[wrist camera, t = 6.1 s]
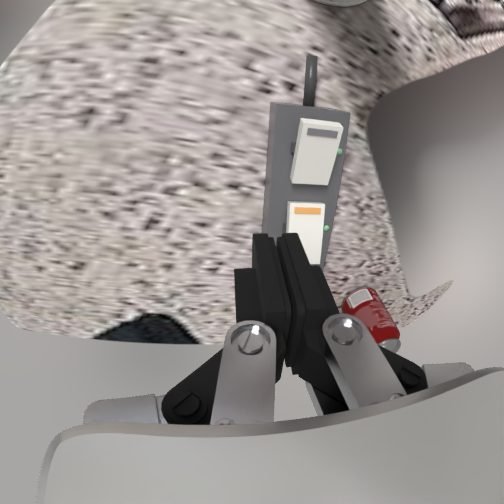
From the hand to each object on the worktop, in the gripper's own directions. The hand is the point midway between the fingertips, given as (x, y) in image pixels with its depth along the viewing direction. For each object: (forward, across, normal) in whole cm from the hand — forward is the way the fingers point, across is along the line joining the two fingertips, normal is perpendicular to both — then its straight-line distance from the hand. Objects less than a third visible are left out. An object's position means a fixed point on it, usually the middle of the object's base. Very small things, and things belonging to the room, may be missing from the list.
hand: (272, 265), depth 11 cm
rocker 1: (+19, -7, 0) cm, 20 cm away
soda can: (+24, -20, +26) cm, 40 cm away
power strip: (+24, -7, +7) cm, 25 cm away
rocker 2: (+18, -7, +10) cm, 22 cm away
